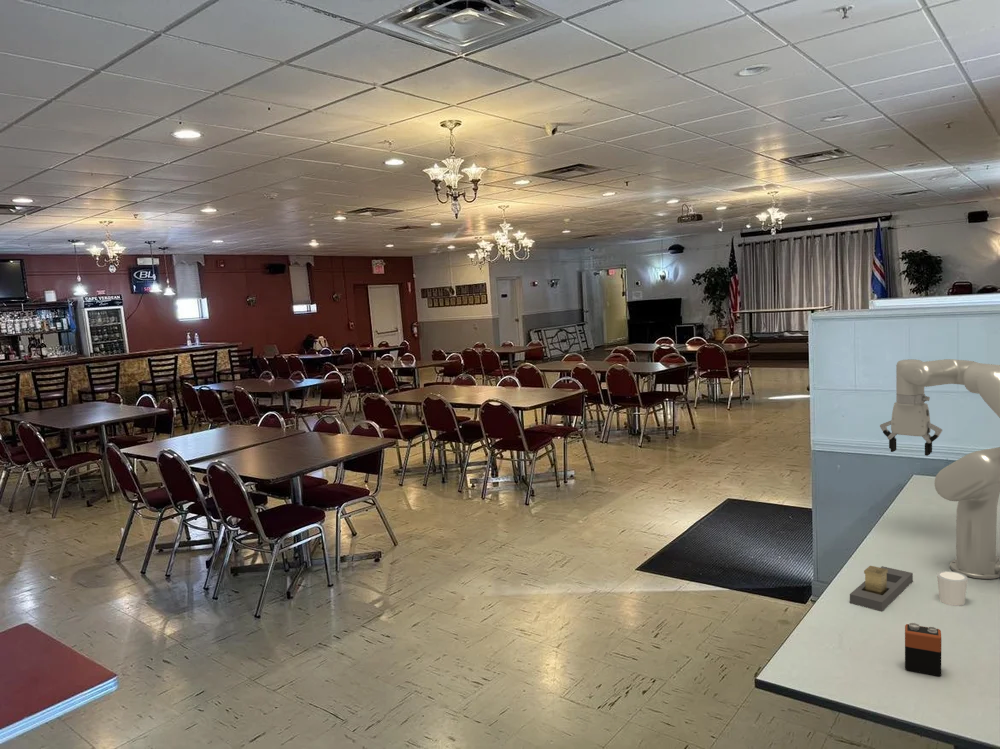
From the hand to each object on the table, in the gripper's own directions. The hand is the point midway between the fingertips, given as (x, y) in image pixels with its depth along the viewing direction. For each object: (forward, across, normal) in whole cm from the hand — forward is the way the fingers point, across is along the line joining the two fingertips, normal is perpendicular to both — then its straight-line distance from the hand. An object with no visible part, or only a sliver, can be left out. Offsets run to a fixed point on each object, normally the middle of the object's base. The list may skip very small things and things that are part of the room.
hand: (910, 452), depth 219 cm
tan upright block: (+30, -5, +45) cm, 54 cm away
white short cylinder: (+31, -20, +35) cm, 51 cm away
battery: (+31, -25, +75) cm, 85 cm away
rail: (+30, -5, +40) cm, 50 cm away
